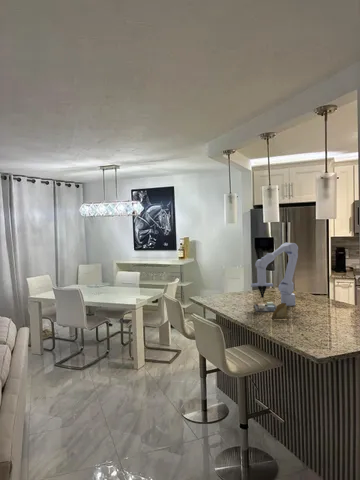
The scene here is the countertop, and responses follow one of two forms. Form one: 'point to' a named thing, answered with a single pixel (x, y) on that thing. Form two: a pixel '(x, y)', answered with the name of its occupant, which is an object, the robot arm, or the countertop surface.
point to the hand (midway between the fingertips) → (262, 297)
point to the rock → (280, 312)
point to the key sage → (270, 304)
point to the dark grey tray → (264, 309)
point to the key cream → (261, 306)
